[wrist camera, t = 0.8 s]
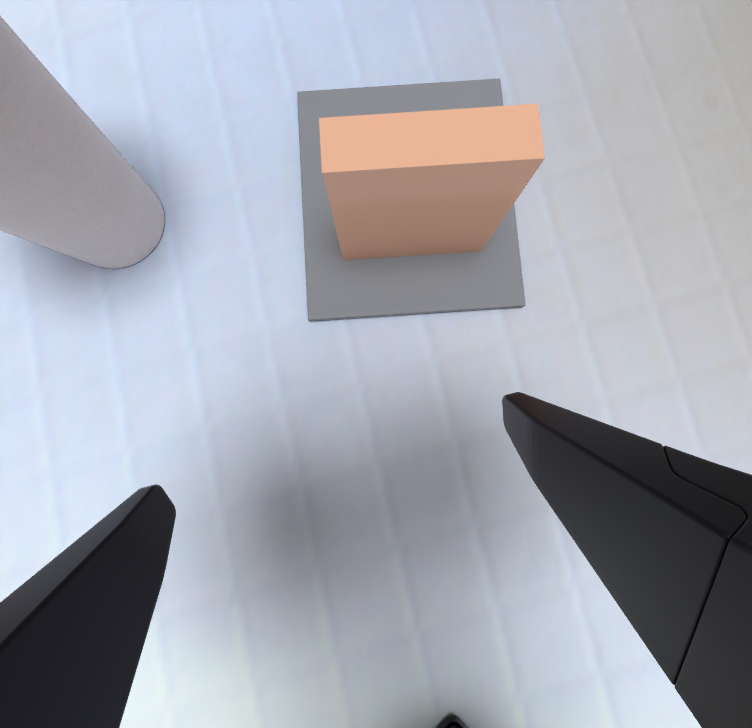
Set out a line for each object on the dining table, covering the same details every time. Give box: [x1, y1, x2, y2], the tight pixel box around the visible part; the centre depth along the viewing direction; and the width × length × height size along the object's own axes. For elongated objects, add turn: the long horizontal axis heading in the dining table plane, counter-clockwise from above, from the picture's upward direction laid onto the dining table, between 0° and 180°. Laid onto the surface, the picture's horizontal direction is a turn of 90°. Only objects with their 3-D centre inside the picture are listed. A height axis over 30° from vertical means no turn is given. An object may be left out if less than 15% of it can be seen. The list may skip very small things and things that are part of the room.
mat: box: [297, 79, 525, 321], centre depth 24 cm, size 16×14×1 cm
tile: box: [319, 104, 545, 260], centre depth 19 cm, size 3×9×9 cm, turn 94°
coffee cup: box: [0, 16, 165, 269], centre depth 17 cm, size 10×10×15 cm
